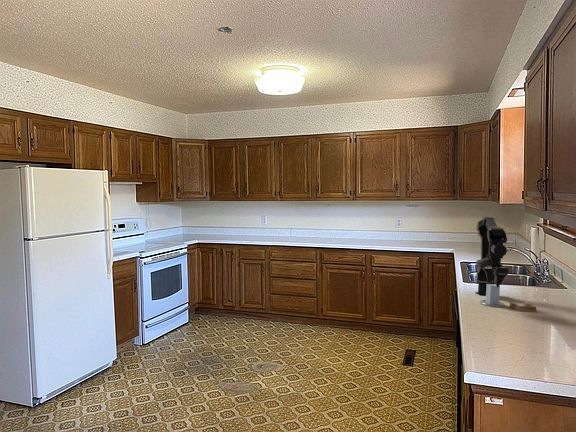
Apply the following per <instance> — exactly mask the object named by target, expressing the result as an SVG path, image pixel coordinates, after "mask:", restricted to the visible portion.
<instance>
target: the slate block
mask: <svg viewBox="0 0 576 432" xmlns="http://www.w3.org/2000/svg"><path fill="white" fill-rule="evenodd" d="M500 290H501V285H500V286H499V287H497V286H496V283H494V284H487V287H486V296H485V300H486V302H487V303H489V304H499V302H500V293H501V292H500Z"/></svg>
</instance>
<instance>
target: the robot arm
mask: <svg viewBox="0 0 576 432" xmlns="http://www.w3.org/2000/svg"><path fill="white" fill-rule="evenodd" d="M476 231H477V235H478V236H479V238H480V259H477V260H476V261H475V262H476V266H477V268H478V269H477V272H476V274H475V278H474V282H475V284H477V286H478V288H477V291H475V292H474V293H475V294H477V295H478V296H480V297H481V296H483V297H486V287H487V284H496V286H497V287H499V286H500V287H501V285H502V283H503V281H504V280H505V278H506V276H508V275H510V269H509V268H508V267H506V266H503V264H502V259H504V256H506V254H507V252H508V249H507V247H506V246H505V245H504V244H507V241H508V237H507V233H506V231H505V230H504V228H503V227H502V226H498V224H497V223H496V221H495V218H494V217H489V216H488V217H487V216H485V217H483V218H482V219H481V220H478V222H477V223H476Z"/></svg>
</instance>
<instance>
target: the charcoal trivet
mask: <svg viewBox="0 0 576 432" xmlns="http://www.w3.org/2000/svg"><path fill="white" fill-rule="evenodd" d="M479 303H480V304H481V305H483V306H485V307H491V308H504V307H505V303H504V302H502V301H499V304H489V303H487V302H486V299H483V300H480V302H479Z"/></svg>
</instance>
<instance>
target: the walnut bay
mask: <svg viewBox="0 0 576 432" xmlns="http://www.w3.org/2000/svg"><path fill="white" fill-rule="evenodd" d="M509 307H510V308H512V309H514V310H516V311H518V312H537V307H536V306H535V305H534V304H531V303H530V302H527V301H526V302H525V301H524V302H523V305H519V304H517V303H516V302H512V301H510V302H509Z"/></svg>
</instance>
